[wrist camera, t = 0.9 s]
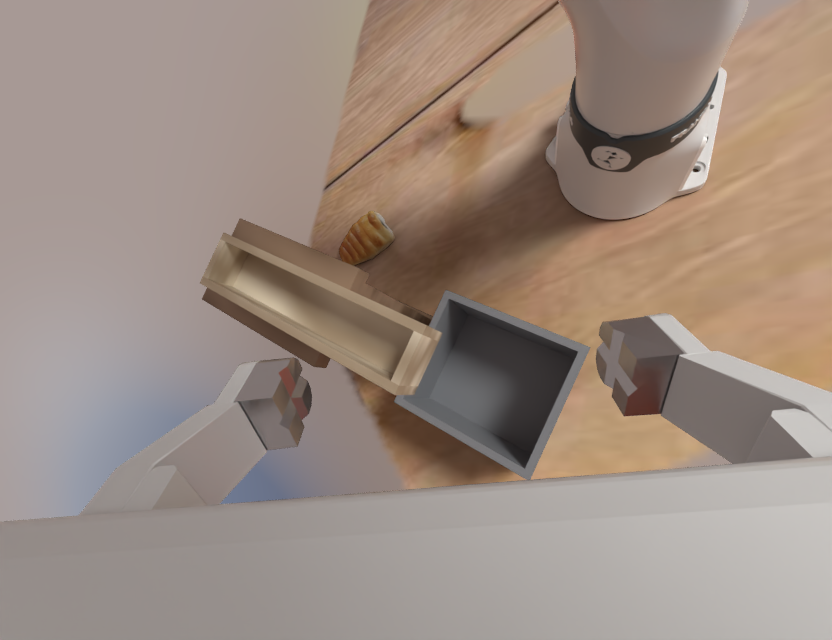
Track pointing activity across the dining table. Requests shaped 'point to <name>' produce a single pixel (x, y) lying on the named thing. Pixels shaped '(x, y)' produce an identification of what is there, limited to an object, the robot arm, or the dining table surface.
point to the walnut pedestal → (315, 264)
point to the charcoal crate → (495, 382)
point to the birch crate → (324, 315)
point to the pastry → (366, 239)
